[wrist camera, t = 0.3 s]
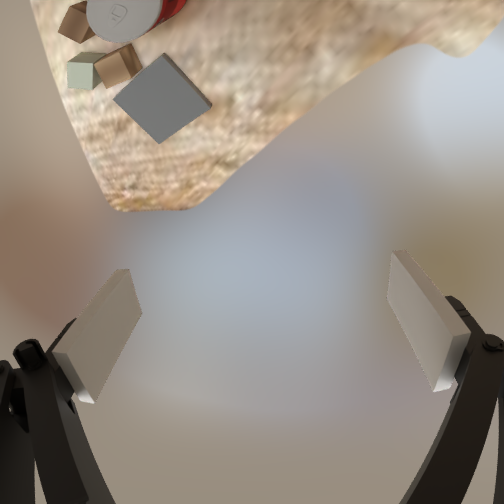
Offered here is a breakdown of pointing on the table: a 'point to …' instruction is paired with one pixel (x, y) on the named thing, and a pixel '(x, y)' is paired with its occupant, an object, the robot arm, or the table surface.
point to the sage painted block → (83, 71)
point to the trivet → (162, 99)
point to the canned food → (128, 17)
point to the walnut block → (76, 23)
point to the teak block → (118, 66)
